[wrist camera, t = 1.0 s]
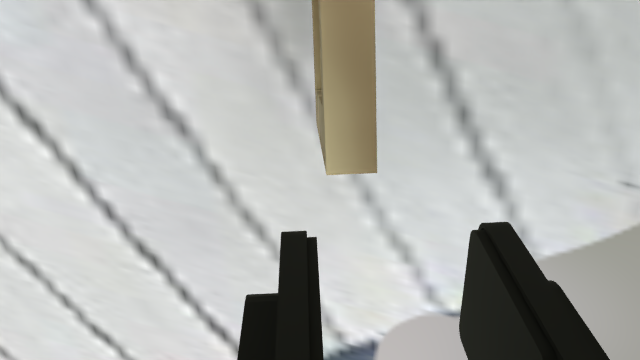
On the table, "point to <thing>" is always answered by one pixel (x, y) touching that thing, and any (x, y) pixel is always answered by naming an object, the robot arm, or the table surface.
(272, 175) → the table surface
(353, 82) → the picture frame
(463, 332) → the robot arm
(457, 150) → the table surface
